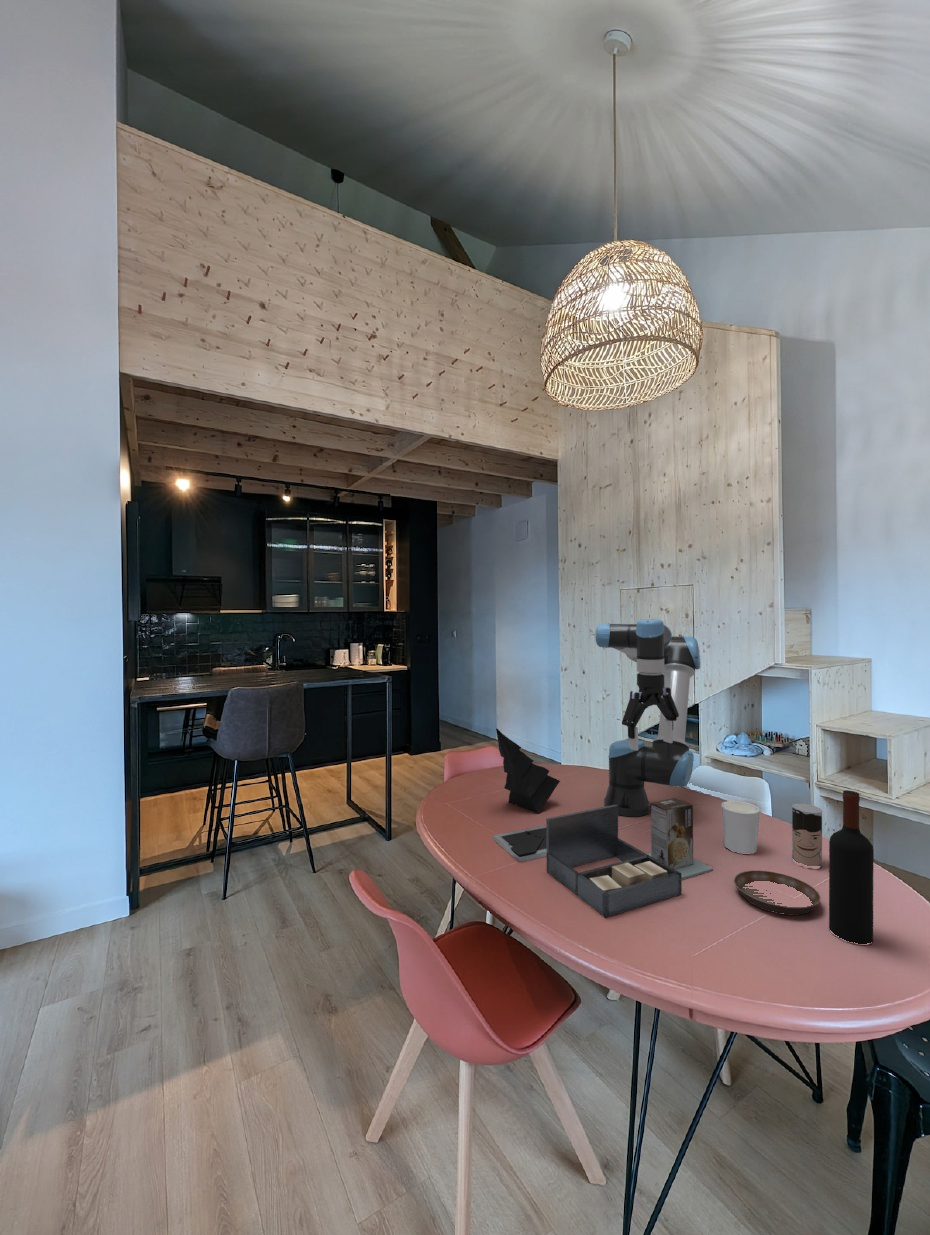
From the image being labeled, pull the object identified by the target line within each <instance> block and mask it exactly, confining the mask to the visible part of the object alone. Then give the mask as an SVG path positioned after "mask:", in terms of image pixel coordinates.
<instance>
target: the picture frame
mask: <svg viewBox="0 0 930 1235" xmlns="http://www.w3.org/2000/svg"><path fill="white" fill-rule="evenodd" d="M493 841H494V842H495V843H496V842H497V843H496V844H497V845H498V846H500V847H501V848H502V849H503V850H504V849H505V850H504V851H506V852H507V853H508V854H509V855H510V856H511V857H513V859H515V860H516V862H518V863H523V862H528V861H531V860H532V861H533V860H536V859H541V858H547V836H546V824H544V825H540V826H534V827H528V828H524V829H520V830H515V831H510V832H509V831H508V832H504V833H498V834H494V835H493Z"/></svg>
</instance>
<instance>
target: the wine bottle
mask: <svg viewBox="0 0 930 1235" xmlns="http://www.w3.org/2000/svg"><path fill="white" fill-rule="evenodd" d="M860 799H861V798H860V793H859V792H857V791H855V790H850V789H849V790H843V791H842V827H841V829H839V830H837V831H835V832H833V833H832V834H831V836H830V837H829V841H828V844H829V845H828V848H829V849H828V854H829V855H828V860H829V861H828V865H829V866H828V872H829V874H828V878H829V879H828V903H829V904H828V929H829V928H830V930H831V931H832V932H833V933H834V934H835V935H837V936H839V938H842V939H844V940H846V941H849V942H853V943H854V942H855V943H858V944H867V943H871V942H874V845H873V844H872V842H871V841H870V840H869V838H867V837H866V836H865V835H864V834H863V833H862V832H861V830H860V802H861V800H860ZM830 930H829V931H830ZM839 938H838V939H839Z"/></svg>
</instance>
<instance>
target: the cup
mask: <svg viewBox="0 0 930 1235" xmlns="http://www.w3.org/2000/svg"><path fill="white" fill-rule="evenodd" d="M791 807H792V808H791V809H792V813H791V814H792V816H791V817H792V819H791V820H792V824H791V828H792V829H791V834H792V836H791V838H792V839H791V840H792V842H791V843H792V844H791V848H792V850H791V852H792V853H791V854H792V855H791V858H793V859H794V860H795V861H796V862H798V863H802V864H804V865H807V866H821V865H822V866H823V810H822V808H820V807H819V806H815V805H812V804H808V803H794V804H792V806H791Z"/></svg>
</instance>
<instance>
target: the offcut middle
mask: <svg viewBox="0 0 930 1235" xmlns="http://www.w3.org/2000/svg"><path fill="white" fill-rule="evenodd" d="M612 879H613V880H614V881H615V882H616V883H617V884H618V885H619V886H621V887H622V888H623V887H626V886H630V885H633V884H637V883H640V882H644V881H645V873H644V872H642V871H641V870H639V869H638V868H636V867H634V866H633V865H631V864H629V863H624V864H620V865H616V866H613V867H612Z"/></svg>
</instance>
